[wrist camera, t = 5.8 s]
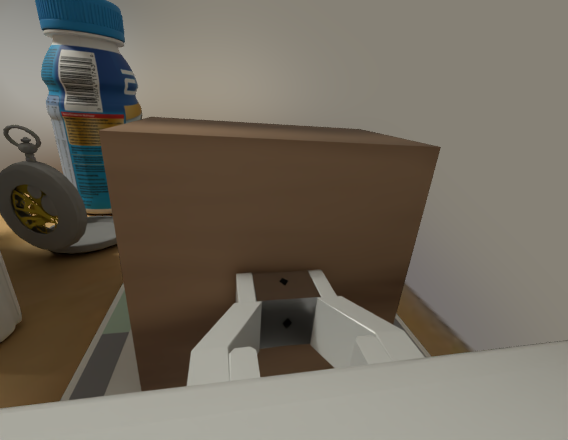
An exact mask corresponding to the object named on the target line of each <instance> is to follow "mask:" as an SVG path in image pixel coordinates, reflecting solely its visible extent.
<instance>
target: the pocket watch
mask: <svg viewBox="0 0 568 440" xmlns="http://www.w3.org/2000/svg"><path fill="white" fill-rule="evenodd" d="M11 128H18V129H22V130H25V131H26V132H28V133H29V134H31V135H32V136H33V137H34V138H35V139H36V145H34V144H32V143H29V142H30V141H31V139H28V138H27V137H24V138H23V139H21V141H22V142H24V143H21V144H18V143H16V142H15V141H14V140H12V139H11V137H10V136H9V135H8V132H9V130H10V129H11ZM4 136H5V137H6V139H7V140H8V141H9V142H10V143H12V144H13V145H15V146H17V147H18V149H19V150H20V151H21V152H23V153H25V156H26V161H22V162H18V163H14V164H12V165H10V166H8V167H7V168H5V169H4V170H2V171H1V173H0V213H1V216H2V217H3V219H4V220H5V222H6V223H7V225H8V226H9V227H10V228H11V229H12V230H13V231H14V232H15V233H16V234H17V235H18V236H19V237H20V238H22V239H23V240H25V241H27V242H28V243H30V244H31V245H33V246H36V247H38V248H41V249H46V250H49V251H53V252H57V253H71V254H73V253H83V252H90V251H95V250H100V249H103V248H106V247H109V246H112V245H115V244H117V240H116V234H115V228H114V221H113V216H90V217H87V212H86V209H85V205H84V202H83V199H82V198H81V196H80V194H79V192H78V191H77V189H76V187H75V186H74V185H73V184H72V183H71V182H70V181H69V180H68V178H67V177H66V176H64V175H63V174H62V173H60V172H59V171H58V170H56V169H55V168H53V167H51V166H49V165H47V164H45V163H41V162H37V161H36V159H35V157H34V154H33V153H35V152H36V151H37V150H38V149H37V148H39V147H40V145H41V141H40V139H39V137H38V136H37V135H36V134H35V133H34V132H33V131H31V130H29V129H28V128H25V127H22V126H19V125H10V126H6V127H5V128H4ZM24 193H26V194H28V195H29V196H30V197H29V198H28V197H27V196H26V195H25V194H24ZM24 195H25V196H26V197H25V196H24ZM31 198H32V199H31ZM32 201H34V202H32ZM36 203H37V205H36ZM30 204H32V205H31V206H30ZM28 206H30V209H29V208H28ZM29 212H30V213H29ZM30 214H31V215H30ZM32 214H34V215H35V214H36V215H35V216H32ZM37 214H38V215H37ZM51 216H52V217H51ZM51 218H52V219H54V221H53V220H51ZM57 218H58V219H57ZM55 220H57V222H58V224H57V223H56V221H55ZM51 221H52V222H51ZM48 222H49V223H55V225H53V226H51V227H50V228H47V227H46V226H45V223H48ZM43 225H44V226H43Z"/></svg>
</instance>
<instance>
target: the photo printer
mask: <svg viewBox="0 0 568 440" xmlns="http://www.w3.org/2000/svg"><path fill="white" fill-rule="evenodd" d="M21 320H22V315H21V310H20V306H19V303H18V300H17V297H16V294H15V292H14V289H13V286H12V283H11V280H10V277H9V274H8V272H7V269H6V266H5V263H4V260H3V257H2V254H1V252H0V342H1V341H3V340H4V339H5V338H7V337H8V336H9V335H10V334H11V333H12V332H13V331H14V329H15V325H16V324H17V323H19V322H21Z"/></svg>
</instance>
